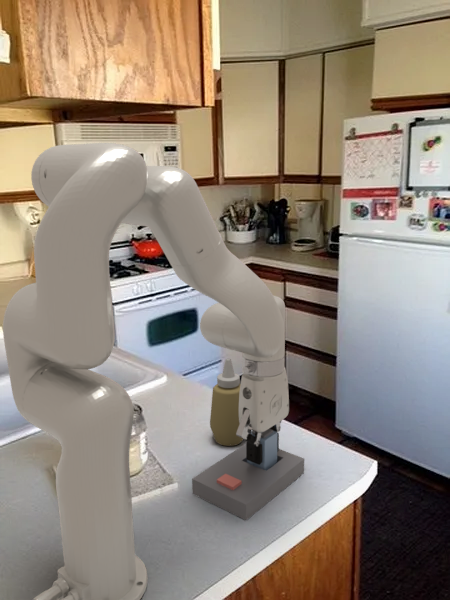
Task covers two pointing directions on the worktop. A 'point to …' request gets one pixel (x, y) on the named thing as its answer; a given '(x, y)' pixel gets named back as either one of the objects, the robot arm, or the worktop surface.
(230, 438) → the squeeze bottle
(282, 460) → the power strip
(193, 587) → the worktop surface
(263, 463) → the plug
